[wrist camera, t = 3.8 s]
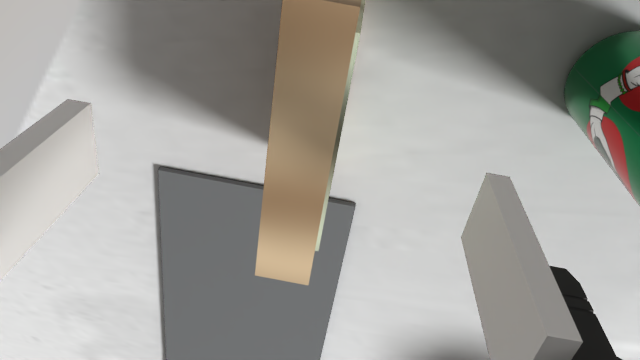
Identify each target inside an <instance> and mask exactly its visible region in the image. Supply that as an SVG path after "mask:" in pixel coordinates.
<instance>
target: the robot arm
mask: <svg viewBox="0 0 640 360" xmlns="http://www.w3.org/2000/svg"><path fill="white" fill-rule="evenodd" d="M98 174H99V168H98V159H97V151H96V142H95V134H94V126H93V117H92V109H91V103H87V102H81V101H76V100H70V99H67V100H66V101H64V102H63V103H62V104H60V105H59V106H58V107H56V108H55V109H54V110H52V111H51V112H50V113H48V114H47V115H46V116H44V117H43V118H41V119H40V120H39V121H37V122H36V123H35V124H33V125H32V126H31V127H29V128H28V129H27V130H25V131H24V132H23V133H21V134H20V135H18V136H17V137H16V138H14V139H13V140H12V141H10V142H9V143H8V144H6V145H5V146H4V147H3V148H1V149H0V282H1V281H2V280H3V279H4V277H5V276H6V275H7V274H8V273H9V272H10V271H11V270H12V269H13V268H14V266H15V265H16V264H17V263H18V262H19V261H20V260H21V259H22V258H23V257H24V256H25V254H26V253H27V252H28V251H29V250H30V249H31V248H32V247H33V246H34V245H35V243H36V242H37V241H38V240H39V239H40V238H41V237H42V236H43V235H44V234H45V233H46V231H47V230H48V229H49V228H50V227H51V226H52V225H53V224H54V223H55V222H56V220H57V219H58V218H59V217H60V216H61V215H62V214H63V213H64V212H65V211H66V210H67V208H68V207H69V206H70V205H71V204H72V203H73V202H74V201H75V200H76V199H77V197H78V196H79V195H80V194H81V193H82V192H83V191H84V190H85V189H86V188H87V187H88V185H89V184H90V183H91V182H92V181H93V180H94V179H95V178H96V177H97V176H98ZM461 239H462V243H463V248H464V252H465V256H466V260H467V265H468V269H469V273H470V277H471V281H472V286H473V290H474V294H475V298H476V302H477V307H478V311H479V315H480V319H481V324H482V328H483V332H484V336H485V340H486V345H487V349H488V353H489V357H490V360H622V359H620V358H618V357H616V355H615V353H614V351H613V349H612V347H611V345H610V343H609V341H608V339H607V337H606V335H605V333H604V331H603V329H602V327H601V325H600V323H599V321H598V319H597V317H596V315H595V314H593V309H592V307H591V305H590V303H589V301H587V297H586V295H585V293H584V291H583V289H582V287H581V285H580V283H579V282H578V281H577V280H576V279H575V278H574V277H573V276H572V275H571V274H570V273H569V272H568V271H567V269H564V268H558V267H553V266H549V264H548V262H547V260H546V257H545V255H544V253H543V251H542V248H541V246H540V244H539V242H538V239H537V237H536V235H535V233H534V230H533V228H532V226H531V224H530V221H529V219H528V217H527V215H526V212H525V210H524V208H523V206H522V203H521V201H520V199H519V197H518V194H517V192H516V190H515V188H514V185H513V183H512V181H511V179H510V177H508V176H502V175H496V174H491V173H486V176H485V178H484V181H483V183H482V186H481V188H480V191H479V193H478V196H477V198H476V201H475V203H474V206H473V208H472V211H471V214H470V216H469V219H468V221H467V224H466V226H465V229H464V231H463V234H462V236H461Z"/></svg>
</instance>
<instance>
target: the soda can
mask: <svg viewBox="0 0 640 360" xmlns="http://www.w3.org/2000/svg"><path fill="white" fill-rule="evenodd" d="M564 98H565V104H566V107H567V110H568V112H569V113H570V115H571V116H572V118H573V119H574V120H575V122H576V123H577V124H578V126H579V127H580V128H581V130H582V131H583V132H584V134H585V135H586V136H587V138H588V139H589V140H590V142H591V143H592V144H593V145H594V147H595V148H596V149H597V151H598V152H599V153H600V155H601V156H602V157H603V159H604V160H605V161H606V163H607V164H608V165H609V167H610V168H611V169H612V170H613V172H614V173H615V174H616V176H617V177H618V178H619V180H620V181H621V182H622V184H623V185H624V186H625V188H626V189H627V190H628V192H629V193H630V194H631V195H632V197H633V198H634V199H635V201H636V202H637V203H638V205H639V206H640V31H629V32H623V33H619V34H616V35H613V36H610V37H608V38H606V39H604V40H602V41H600V42H598V43H597V44H595V45H594V46H592V47H591V48H590V49H589V50H587V51H586V52H585V53H584V54H583V55H582V56H581V57H580V58H579V59H578V61H577V62H576V63H575V65H574V66H573V68H572V70H571V71H570V73H569V75H568V78H567V81H566V85H565V90H564Z"/></svg>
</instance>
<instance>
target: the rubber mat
mask: <svg viewBox="0 0 640 360" xmlns="http://www.w3.org/2000/svg"><path fill="white" fill-rule="evenodd" d="M158 183H159V206H160V229H161V252H162V275H163V299H164V322H165V345H166V360H320V357H321V353H322V348H323V344H324V340H325V335H326V331H327V327H328V322H329V318H330V314H331V310H332V305H333V301H334V297H335V292H336V288H337V284H338V279H339V275H340V271H341V266H342V262H343V258H344V253H345V249H346V245H347V241H348V236H349V232H350V228H351V223H352V219H353V215H354V210H355V205H356V203H353V202H348V201H342V200H337V199H332V198H329V199H328V204H327V209H326V215H325V220H324V225H323V230H322V235H321V241H320V246H319V251H315V253H314V258H313V263H312V269H311V274H310V279H309V285H303V284H298V283H292V282H287V281H282V280H277V279H271V278H266V277H261V276H255V269H256V259H257V249H258V239H259V229H260V219H261V209H262V199H263V189H264V186H262V185H256V184H251V183H246V182H240V181H235V180H229V179H224V178H219V177H213V176H208V175H203V174H197V173H192V172H187V171H181V170H176V169H170V168H165V167H160V168H159V169H158Z"/></svg>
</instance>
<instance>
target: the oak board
mask: <svg viewBox="0 0 640 360" xmlns="http://www.w3.org/2000/svg"><path fill="white" fill-rule="evenodd" d="M364 5H365V0H282V10H281V20H280V29H279V39H278V49H277V59H276V69H275V79H274V89H273V99H272V109H271V119H270V129H269V139H268V149H267V159H266V169H265V179H264V189H263V199H262V209H261V219H260V229H259V239H258V249H257V259H256V269H255V276H261V277H266V278H271V279H277V280H282V281H287V282H292V283H298V284H303V285H309V279H310V274H311V269H312V263H313V258H314V253H315V251H319V246H320V241H321V235H322V230H323V225H324V220H325V215H326V209H327V204H328V199H329V194H330V189H331V183H332V178H333V173H334V168H335V163H336V157H337V152H338V147H339V142H340V136H341V131H342V126H343V121H344V116H345V110H346V105H347V100H348V95H349V90H350V84H351V79H352V74H353V69H354V64H355V58H356V53H357V48H358V43H359V38H360V32H361V25H362V19H363V12H364Z"/></svg>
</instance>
